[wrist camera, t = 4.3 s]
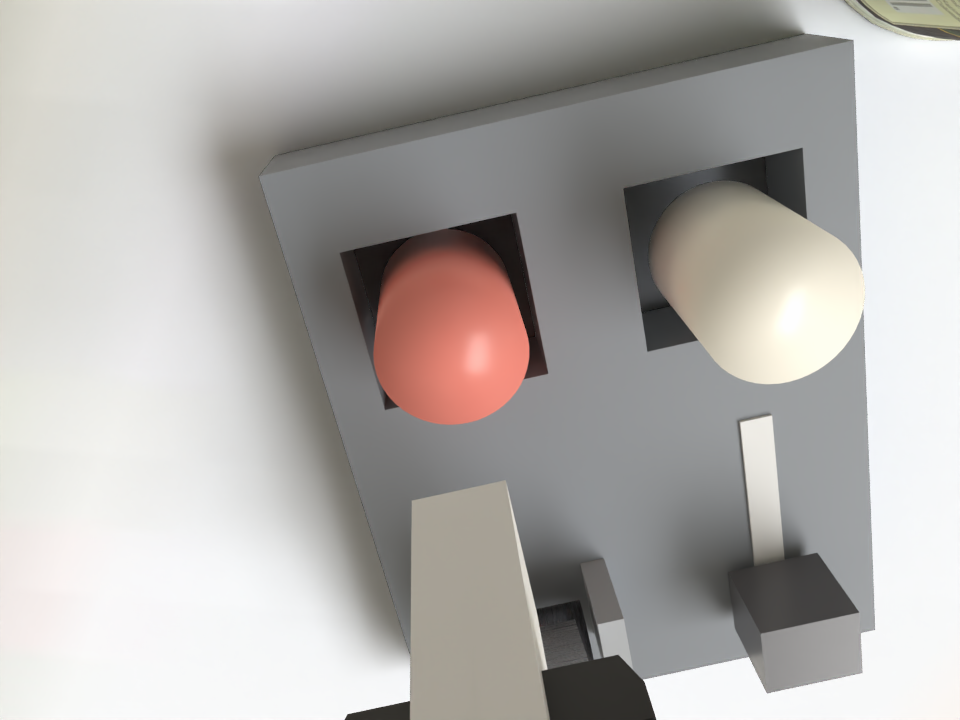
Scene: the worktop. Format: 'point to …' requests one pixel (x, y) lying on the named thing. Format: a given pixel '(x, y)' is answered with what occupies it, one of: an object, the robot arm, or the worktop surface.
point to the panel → (604, 346)
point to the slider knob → (795, 622)
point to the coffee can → (913, 17)
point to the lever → (564, 634)
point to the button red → (449, 329)
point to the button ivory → (756, 281)
